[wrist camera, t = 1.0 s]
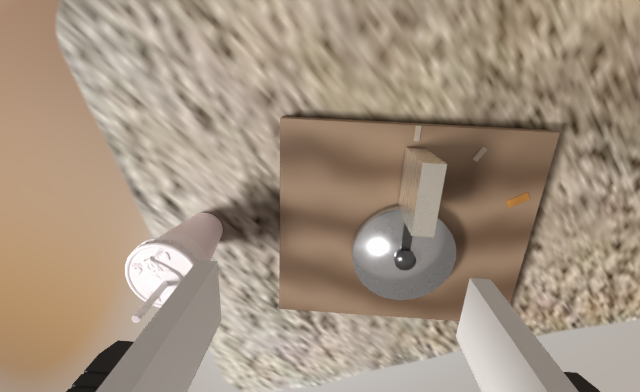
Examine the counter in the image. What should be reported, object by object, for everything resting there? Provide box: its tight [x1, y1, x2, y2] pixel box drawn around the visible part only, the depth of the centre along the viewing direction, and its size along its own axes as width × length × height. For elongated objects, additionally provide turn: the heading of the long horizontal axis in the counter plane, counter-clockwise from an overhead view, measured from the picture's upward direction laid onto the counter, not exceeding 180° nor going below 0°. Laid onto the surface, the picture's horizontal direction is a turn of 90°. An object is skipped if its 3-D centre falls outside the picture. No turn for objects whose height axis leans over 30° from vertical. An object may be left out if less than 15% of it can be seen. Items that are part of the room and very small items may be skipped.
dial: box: [352, 147, 456, 300], centre depth 29 cm, size 16×10×6 cm, turn 177°
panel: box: [279, 116, 560, 321], centre depth 33 cm, size 21×25×2 cm
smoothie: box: [125, 213, 223, 322], centre depth 29 cm, size 6×6×14 cm
